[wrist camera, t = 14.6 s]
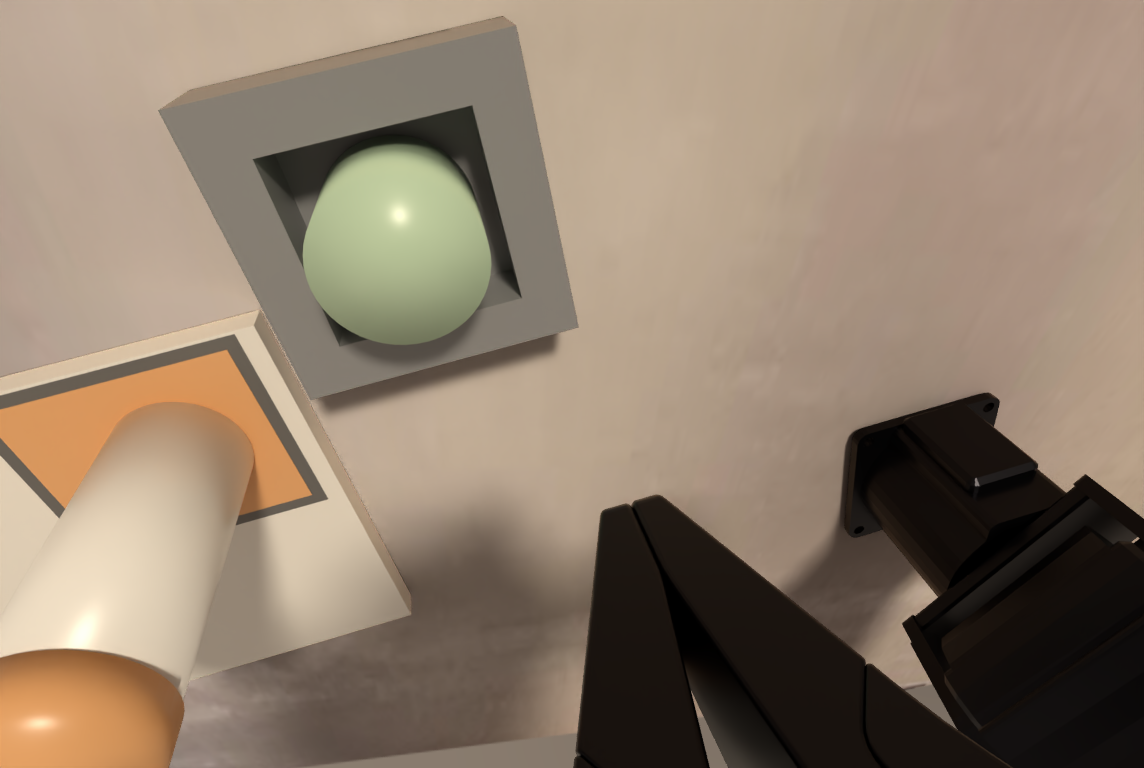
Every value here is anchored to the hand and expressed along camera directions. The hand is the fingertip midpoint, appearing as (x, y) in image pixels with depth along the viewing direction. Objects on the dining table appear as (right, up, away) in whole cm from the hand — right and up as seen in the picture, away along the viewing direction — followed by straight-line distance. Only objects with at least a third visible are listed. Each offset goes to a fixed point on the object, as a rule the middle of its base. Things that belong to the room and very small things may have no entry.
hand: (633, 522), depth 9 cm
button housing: (-6, +7, +10) cm, 13 cm away
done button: (-6, +7, +9) cm, 13 cm away
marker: (-13, 0, +11) cm, 17 cm away
